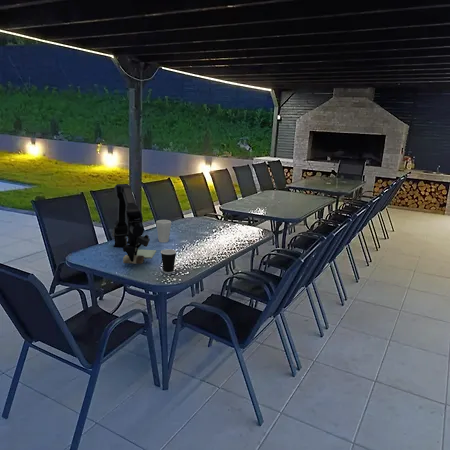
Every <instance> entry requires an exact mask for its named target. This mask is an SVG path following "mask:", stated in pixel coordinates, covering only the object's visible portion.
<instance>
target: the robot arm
mask: <svg viewBox="0 0 450 450" xmlns="http://www.w3.org/2000/svg"><path fill="white" fill-rule="evenodd" d="M114 193H115V195H116V197H117V215H116V216H117V219H116V221H115V223H114V227H112V231H111V233H112V235H111V236H112V237H113V238H114V245H113V247H115V248H122V252H125V253H126V255H128V256H129V258H130V260H131V262H133V260H134V255H137V251H138V250H139V248H140V247H141V246H143V247H148V245H149V242H150V241H151V239H150V238H149V235H148V234H145V235H144V236H143V234H144V232H145V231H144V228H143V226H141V225H140V223H143V221H144V220H143V219H144V217H143V214H142V212H141V210H140V208H139V206H138V205H137V204H136V203H135V201H134V196H133V193H132V185H129V184H128V183H117V184H115V186H114Z"/></svg>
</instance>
